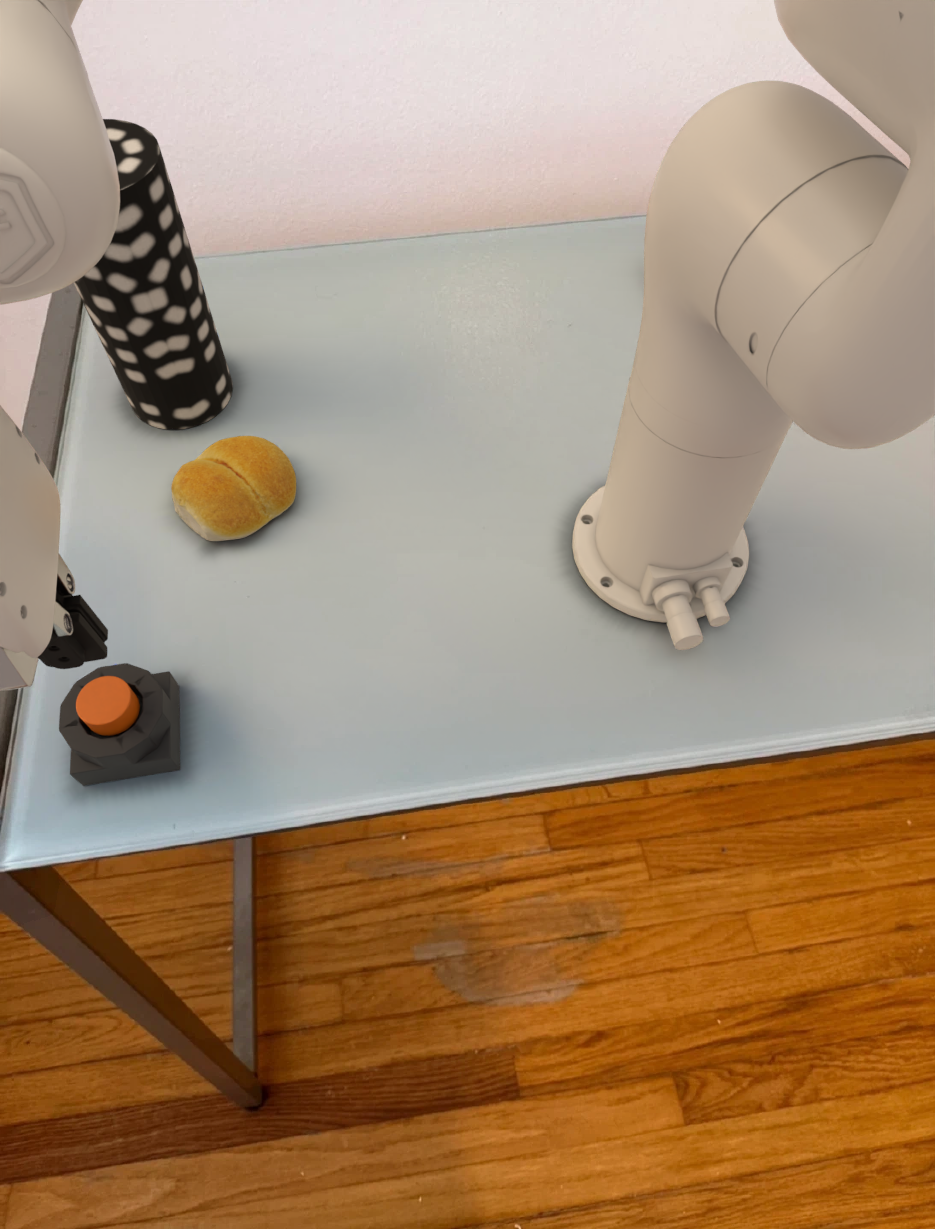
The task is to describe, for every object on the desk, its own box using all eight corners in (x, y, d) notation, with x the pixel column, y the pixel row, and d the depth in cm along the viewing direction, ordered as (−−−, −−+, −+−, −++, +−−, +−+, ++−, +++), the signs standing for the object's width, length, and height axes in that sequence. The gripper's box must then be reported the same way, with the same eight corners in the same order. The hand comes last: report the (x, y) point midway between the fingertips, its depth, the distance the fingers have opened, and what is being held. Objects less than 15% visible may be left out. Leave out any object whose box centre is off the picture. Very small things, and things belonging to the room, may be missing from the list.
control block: (181, 770, 54) (162, 747, 51) (82, 787, 54) (56, 764, 50) (180, 684, 57) (162, 657, 54) (86, 699, 57) (61, 672, 53)
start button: (139, 731, 52) (130, 719, 50) (85, 740, 51) (74, 728, 50) (140, 684, 53) (131, 671, 52) (87, 692, 53) (76, 679, 52)
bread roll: (319, 492, 66) (311, 457, 62) (226, 563, 62) (212, 530, 59) (249, 435, 68) (238, 399, 65) (157, 500, 65) (140, 465, 62)
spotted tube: (249, 368, 72) (183, 132, 55) (204, 440, 68) (117, 210, 51) (160, 346, 73) (67, 109, 56) (111, 416, 69) (-5, 183, 52)
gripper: (-202, 284, 34) (19, 548, 50) (-301, 607, 26) (-5, 795, 42) (-6, 258, 34) (150, 527, 50) (-50, 568, 27) (150, 768, 43)
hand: (79, 649), depth 46 cm, fingers closed
